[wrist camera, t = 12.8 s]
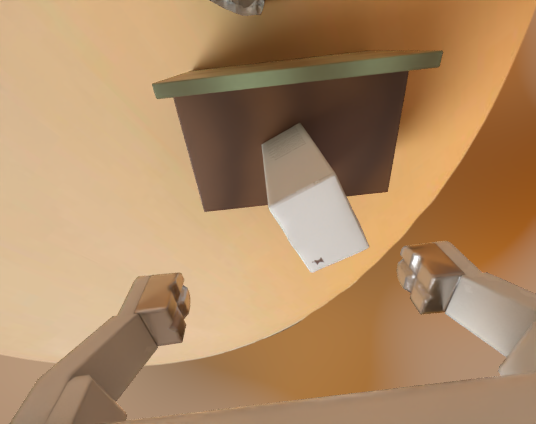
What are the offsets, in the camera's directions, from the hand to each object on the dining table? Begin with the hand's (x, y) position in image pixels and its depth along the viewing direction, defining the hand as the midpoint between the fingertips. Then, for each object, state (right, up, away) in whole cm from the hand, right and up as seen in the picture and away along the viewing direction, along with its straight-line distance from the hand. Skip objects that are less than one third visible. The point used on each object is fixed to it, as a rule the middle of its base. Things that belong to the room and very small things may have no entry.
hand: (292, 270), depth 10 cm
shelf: (+1, +13, +23) cm, 26 cm away
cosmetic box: (+2, +8, +16) cm, 17 cm away
